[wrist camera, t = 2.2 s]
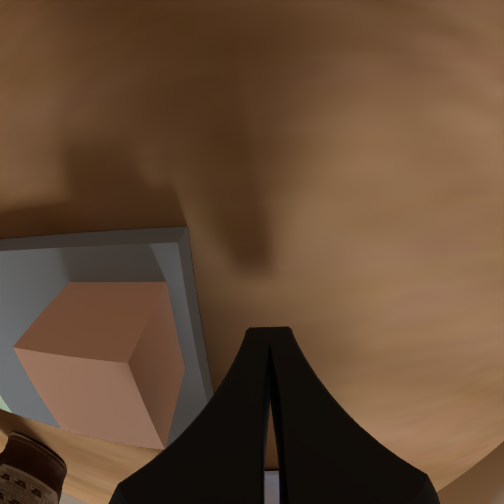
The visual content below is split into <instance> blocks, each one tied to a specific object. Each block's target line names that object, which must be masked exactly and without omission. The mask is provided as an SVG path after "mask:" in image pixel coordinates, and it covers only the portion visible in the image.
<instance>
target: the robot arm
mask: <svg viewBox="0 0 504 504" xmlns="http://www.w3.org/2000/svg"><path fill="white" fill-rule="evenodd" d="M270 401H271V409H272V416H273V424H274V431H275V439H276V446H277V454H278V465H279V471H265V452H266V441H267V431H268V420H269V408H270ZM109 504H440V502H439V499H438V496H437V493H436V491H435V489H434V486H433V484H432V483H431V481H430V479H429V477H428V475H427V474H426V473H424V472H422V471H420V470H419V469H417V468H415V467H414V466H412V465H410V464H409V463H407V462H406V461H404V460H403V459H401V458H399V457H398V456H397V455H395V454H394V453H392V452H391V451H390V450H388V449H387V448H386V447H384V446H383V445H382V444H380V443H379V442H378V441H377V440H376V439H375V438H373V437H372V436H371V435H370V434H369V433H368V432H366V431H365V430H364V429H363V428H362V427H361V426H359V425H358V424H357V423H356V422H355V421H354V420H353V419H352V418H351V417H350V416H349V415H348V414H347V413H346V411H345V410H344V409H343V408H342V407H341V406H340V405H339V404H338V403H337V401H336V400H335V399H334V398H333V397H332V395H331V394H330V393H329V392H328V390H327V389H326V388H325V386H324V385H323V384H322V382H321V381H320V380H319V378H318V377H317V375H316V374H315V372H314V371H313V369H312V368H311V366H310V365H309V363H308V362H307V360H306V358H305V357H304V355H303V353H302V351H301V349H300V348H299V346H298V344H297V342H296V339H295V337H294V335H293V332H292V329H291V328H289V327H257V328H249V329H247V330H246V333H245V337H244V340H243V342H242V345H241V347H240V350H239V352H238V354H237V356H236V358H235V360H234V362H233V364H232V366H231V368H230V369H229V371H228V373H227V375H226V376H225V378H224V380H223V381H222V383H221V384H220V386H219V387H218V389H217V391H216V392H215V394H214V395H213V396H212V398H211V399H210V401H209V402H208V403H207V405H206V406H205V407H204V409H203V410H202V411H201V412H200V414H199V415H198V416H197V417H196V418H195V419H194V420H193V422H192V423H191V424H190V425H189V426H188V427H187V428H186V429H185V430H184V431H183V433H182V434H181V435H180V436H179V437H178V438H177V439H175V440H174V441H173V442H172V443H171V444H170V445H169V446H168V447H167V448H165V449H164V450H163V451H162V452H161V453H160V454H159V455H157V456H156V457H155V458H154V459H153V460H151V461H150V462H149V463H148V464H146V465H145V466H143V467H142V468H141V469H139V470H138V471H136V472H135V473H133V474H132V475H131V476H129V477H128V478H126V479H125V480H123V481H122V482H120V483H119V484H118V485H117V487H116V489H115V491H114V493H113V495H112V498H111V500H110V502H109Z"/></svg>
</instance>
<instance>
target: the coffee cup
mask: <svg viewBox="0 0 504 504" xmlns="http://www.w3.org/2000/svg"><path fill="white" fill-rule="evenodd" d="M66 473H67V468H66V466H65V464H64V463H63V462H62V461H61V460H60V459H58V458H57V457H56V456H55V455H53V454H52V453H51V452H50V451H48V450H47V449H45V448H44V447H42V446H41V445H39V444H37V443H36V442H34V441H32V440H31V439H29V438H27V437H25V436H23V435H21V434H18V433H15V432H12V433H11V434H10V435H9V437H8V442H7V444H6V447H5V449H4V451H3V452H2V453H0V504H59V501H60V497H61V492H62V485H63V482H64V479H65V476H66Z"/></svg>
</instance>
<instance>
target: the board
mask: <svg viewBox="0 0 504 504" xmlns="http://www.w3.org/2000/svg"><path fill="white" fill-rule="evenodd" d="M69 282H167V286H168V291H169V297H170V302H171V307H172V312H173V316H174V321H175V326H176V331H177V335H178V340H179V344H180V348H181V353H182V357H183V361H184V365H185V371H184V375H183V379H182V383H181V387H180V391H179V395H178V399H177V403H176V407H175V411H174V415H173V419H172V423H171V427H170V431H169V435H168V440H167V444H166V448H167V447H168V446H169V445H170V444H171V443H172V442H173V441H174V440H175V439H177V438H178V437H179V436H180V435H181V434H182V433H183V431H184V430H185V429H186V428H187V427H188V426H189V425H190V424H191V423H192V422H193V420H194V419H195V418H196V417H197V416H198V415H199V414H200V412H201V411H202V410H203V409H204V407H205V406H206V405H207V403H208V402H209V401H210V399H211V398H212V396H213V395H214V393H213V388H212V382H211V377H210V372H209V366H208V360H207V355H206V349H205V343H204V337H203V331H202V325H201V319H200V313H199V306H198V300H197V293H196V286H195V279H194V272H193V265H192V258H191V250H190V242H189V234H188V226H182V227H163V228H145V229H128V230H112V231H97V232H83V233H69V234H56V235H44V236H32V237H20V238H9V239H0V409H2V410H5V411H8V412H11V413H13V414H16V415H19V416H22V417H25V418H28V419H31V420H35V421H38V422H41V423H45V424H48V425H52V426H55V427H59V428H61V427H60V426H59V424H58V423H57V421H56V420H55V418H54V417H53V415H52V414H51V412H50V411H49V409H48V408H47V406H46V405H45V403H44V402H43V400H42V398H41V397H40V395H39V394H38V392H37V390H36V389H35V387H34V385H33V384H32V382H31V380H30V378H29V377H28V375H27V373H26V371H25V370H24V368H23V366H22V364H21V362H20V360H19V358H18V357H17V355H16V353H15V351H14V349H13V346H14V345H15V344H16V342H17V341H18V340H19V339H20V338H21V336H22V335H23V334H24V333H25V332H26V330H27V329H28V328H29V327H30V326H31V325H32V323H33V322H34V321H35V320H36V319H37V318H38V316H39V315H40V314H41V313H42V312H43V311H44V310H45V308H46V307H47V306H48V305H49V304H50V303H51V302H52V301H53V299H54V298H55V297H56V296H57V295H58V294H59V293H60V292H61V291H62V290H63V289H64V288H65V286H66V285H67V284H68V283H69Z"/></svg>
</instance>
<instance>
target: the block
mask: <svg viewBox="0 0 504 504" xmlns="http://www.w3.org/2000/svg"><path fill="white" fill-rule="evenodd" d="M13 349H14V351H15V353H16V355H17V357H18V358H19V360H20V362H21V364H22V366H23V368H24V370H25V371H26V373H27V375H28V377H29V378H30V380H31V382H32V384H33V385H34V387H35V389H36V390H37V392H38V394H39V395H40V397H41V398H42V400H43V402H44V403H45V405H46V406H47V408H48V409H49V411H50V412H51V414H52V415H53V417H54V418H55V420H56V421H57V423H58V424H59V426H60V427H61V428H62V430H63V431H65V432H69V433H73V434H77V435H81V436H85V437H90V438H94V439H99V440H104V441H109V442H114V443H120V444H126V445H132V446H138V447H145V448H153V449H161V450H164V449H165V448H166V444H167V440H168V435H169V431H170V427H171V423H172V419H173V415H174V411H175V407H176V403H177V399H178V395H179V391H180V387H181V383H182V379H183V375H184V371H185V365H184V361H183V357H182V353H181V348H180V344H179V340H178V335H177V331H176V326H175V321H174V316H173V312H172V307H171V302H170V297H169V291H168V286H167V282H69V283H68V284H67V285H66V286H65V288H64V289H63V290H62V291H61V292H60V293H59V294H58V295H57V296H56V297H55V298H54V299H53V301H52V302H51V303H50V304H49V305H48V306H47V307H46V308H45V310H44V311H43V312H42V313H41V314H40V315H39V316H38V318H37V319H36V320H35V321H34V322H33V323H32V325H31V326H30V327H29V328H28V329H27V330H26V332H25V333H24V334H23V335H22V336H21V338H20V339H19V340H18V341H17V342H16V344H15V345H14V346H13Z"/></svg>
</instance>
